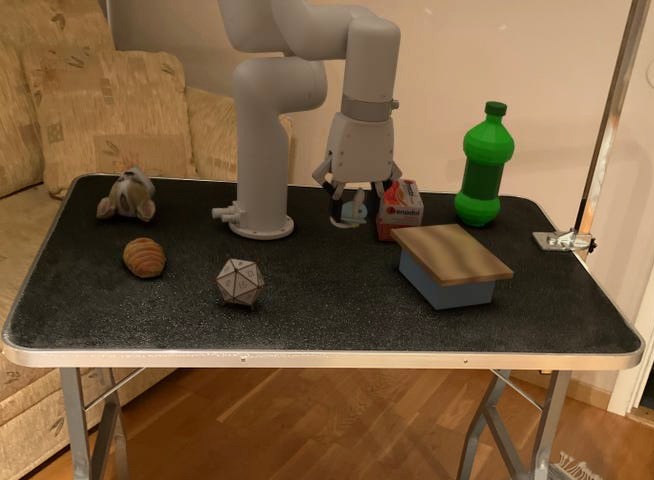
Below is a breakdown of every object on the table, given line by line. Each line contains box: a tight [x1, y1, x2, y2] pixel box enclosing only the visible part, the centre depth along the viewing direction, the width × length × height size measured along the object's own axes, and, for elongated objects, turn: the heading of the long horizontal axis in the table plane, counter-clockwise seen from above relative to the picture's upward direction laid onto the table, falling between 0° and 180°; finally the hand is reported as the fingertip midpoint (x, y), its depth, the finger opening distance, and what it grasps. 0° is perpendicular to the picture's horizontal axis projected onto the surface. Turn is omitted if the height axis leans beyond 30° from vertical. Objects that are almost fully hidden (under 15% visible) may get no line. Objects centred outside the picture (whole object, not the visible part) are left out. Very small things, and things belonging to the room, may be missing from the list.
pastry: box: [122, 237, 167, 279], centre depth 127 cm, size 9×7×4 cm
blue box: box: [398, 247, 496, 310], centre depth 134 cm, size 11×15×6 cm
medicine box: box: [375, 178, 425, 243], centre depth 152 cm, size 15×8×8 cm, turn 6°
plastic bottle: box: [453, 100, 516, 227], centre depth 155 cm, size 10×10×25 cm
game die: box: [209, 252, 271, 311], centre depth 120 cm, size 9×8×10 cm
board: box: [390, 223, 515, 287], centre depth 132 cm, size 14×20×1 cm
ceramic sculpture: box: [95, 164, 157, 223], centre depth 143 cm, size 11×9×15 cm
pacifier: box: [329, 186, 368, 229], centre depth 121 cm, size 7×6×6 cm
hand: (353, 217), depth 123 cm, fingers closed on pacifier, 5 cm apart
